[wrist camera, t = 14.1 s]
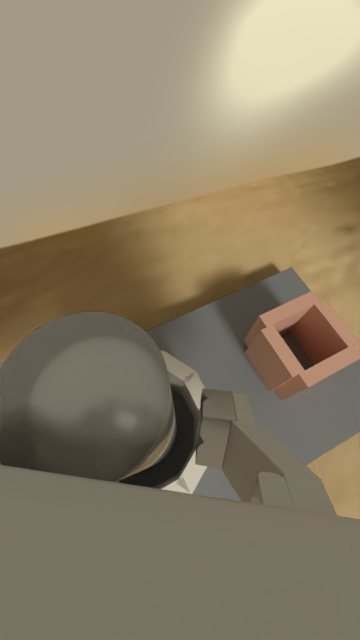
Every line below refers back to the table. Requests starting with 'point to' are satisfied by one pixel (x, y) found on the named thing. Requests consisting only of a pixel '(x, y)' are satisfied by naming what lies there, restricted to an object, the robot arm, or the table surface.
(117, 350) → the metal peg
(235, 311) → the holder board
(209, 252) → the table surface
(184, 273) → the table surface
